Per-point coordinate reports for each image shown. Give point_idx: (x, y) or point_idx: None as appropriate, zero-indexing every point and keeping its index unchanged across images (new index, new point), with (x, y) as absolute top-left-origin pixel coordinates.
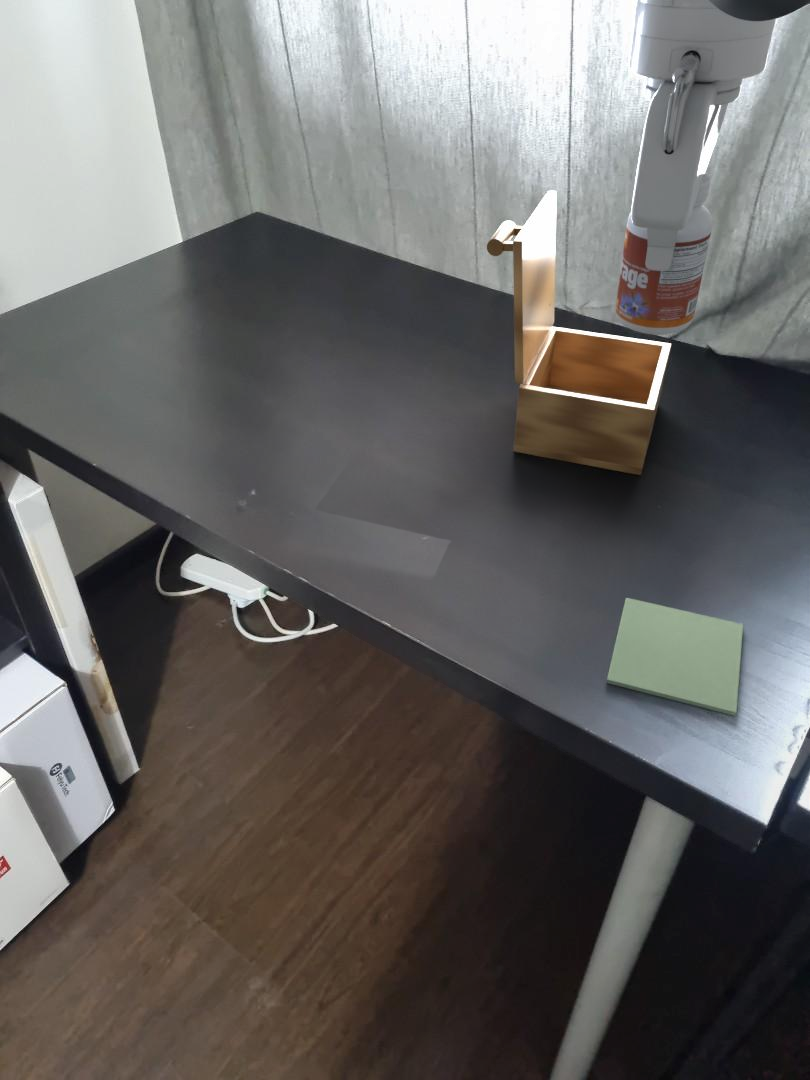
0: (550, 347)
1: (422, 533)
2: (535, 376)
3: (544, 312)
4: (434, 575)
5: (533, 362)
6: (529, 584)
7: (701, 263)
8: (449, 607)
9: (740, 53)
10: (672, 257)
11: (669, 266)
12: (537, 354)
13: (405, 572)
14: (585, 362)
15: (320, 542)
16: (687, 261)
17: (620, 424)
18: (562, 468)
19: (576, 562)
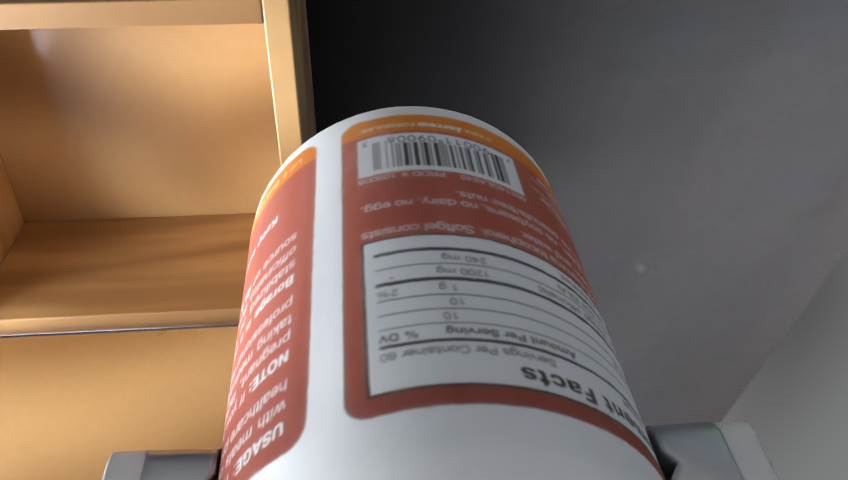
0: (39, 303)
1: (628, 275)
2: (221, 299)
3: (55, 403)
4: (734, 226)
5: (207, 329)
6: (742, 79)
7: (518, 292)
8: (811, 183)
9: None
10: (729, 458)
11: (755, 433)
12: (160, 332)
13: (732, 265)
14: None
15: (677, 383)
16: (615, 370)
17: (299, 57)
18: (343, 109)
19: (665, 10)
